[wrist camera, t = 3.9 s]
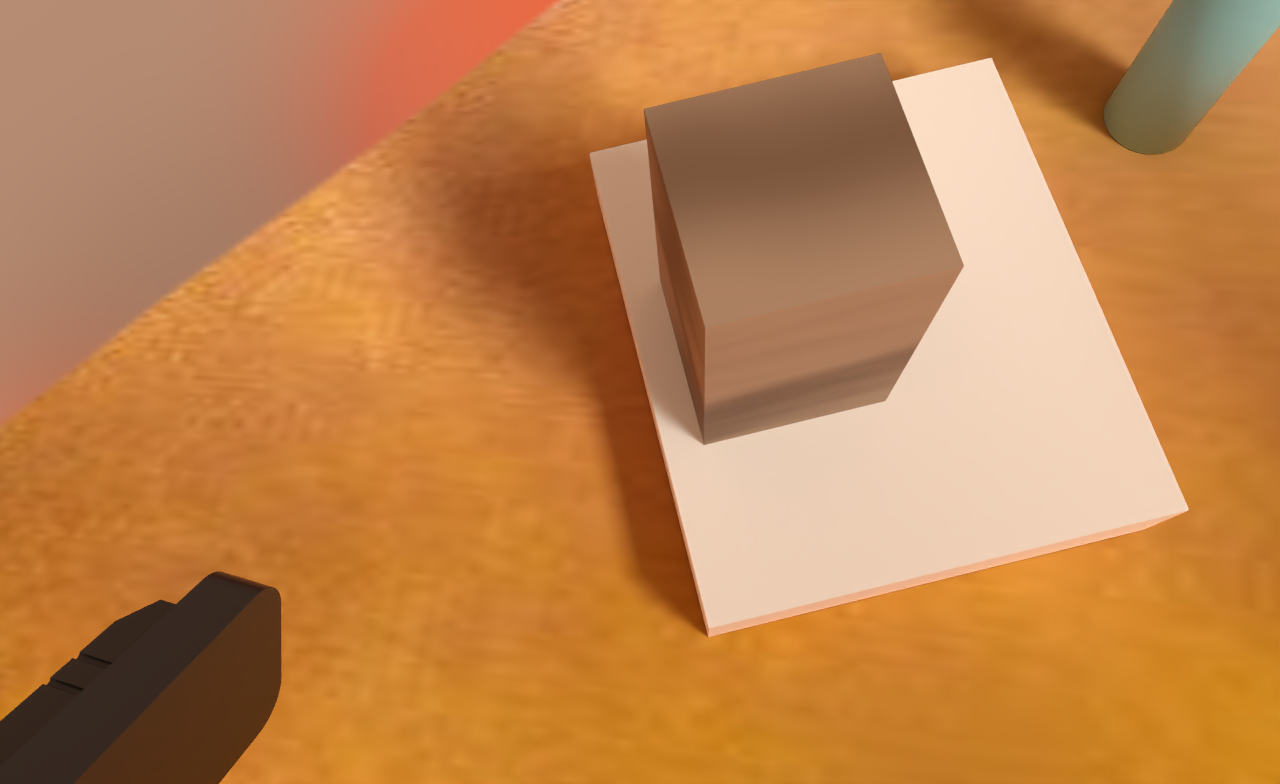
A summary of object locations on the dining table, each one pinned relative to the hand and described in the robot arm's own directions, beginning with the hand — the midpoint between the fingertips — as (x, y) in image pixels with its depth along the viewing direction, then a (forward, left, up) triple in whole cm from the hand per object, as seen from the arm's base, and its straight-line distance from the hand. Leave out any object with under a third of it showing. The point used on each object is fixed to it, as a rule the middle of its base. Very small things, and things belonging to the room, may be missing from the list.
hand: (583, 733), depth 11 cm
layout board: (+10, -9, -18) cm, 23 cm away
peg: (+16, -22, -18) cm, 33 cm away
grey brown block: (+10, -6, -15) cm, 19 cm away
